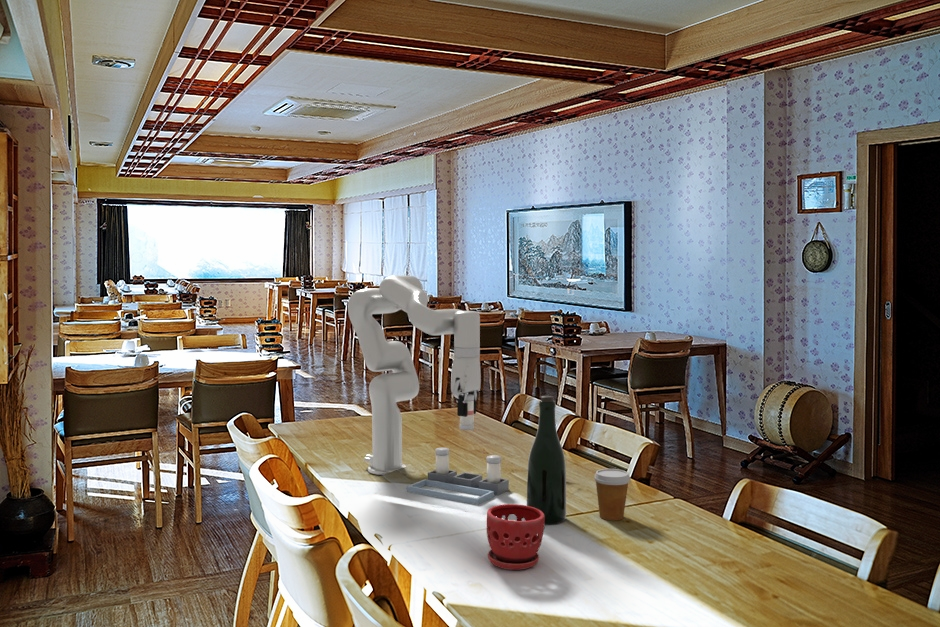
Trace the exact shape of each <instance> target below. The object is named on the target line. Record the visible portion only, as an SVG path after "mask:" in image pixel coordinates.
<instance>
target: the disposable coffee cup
mask: <svg viewBox="0 0 940 627" xmlns="http://www.w3.org/2000/svg"><path fill="white" fill-rule="evenodd" d="M593 478H594V480H595V481H594V482H595V487H596V495H597V496H596V497H597V503H598V504H597V505H598V513H599V517H600V518H601V519H603V520H606V521H620V520H623V519H624V516H625V508H626V502H627V501H626V500H627V495H628V488H629V487H628V486H629V482H630V481H631V477H630V475H629V472H628V471H627V470H626V471H625V470H623V469H619V468H617V469H616V468H603V469H598V470H596V471H595V474H594V477H593Z"/></svg>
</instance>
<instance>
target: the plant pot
mask: <svg viewBox="0 0 940 627" xmlns="http://www.w3.org/2000/svg"><path fill="white" fill-rule="evenodd" d="M510 515H511V516H512V515H514V516H515V517H516V520H510V519H509V517H510ZM503 516H505V517H504V518H502V517H503ZM523 519H524V520H523ZM544 521H545V516H544V513H543V512H542V511H540V510H539V509H537V508H534V507H530V506H527V504H526V505H525V504H515V503H512V504H511V503H508V504H507V503H504V504H497V505H494V506H492V507H489V508H488V510H487V511H486V536H487V542H488V544H489V548H490V550H489V551H488V553H487V558H488V560H489V561H490V563H492V564H493V565H494V566H495V567H498V568H501V569H504V570H509V571H510V570H512V571H517V570H518V571H520V570H524V569H525V570H526V569H529V568H532V567H533V566H535V565H536V564H538V561H539V560H540V556H539V554H538V551H539V549H540V548H541V544H542V542H543V536H544V532H545V531H544V530H545V524H544Z"/></svg>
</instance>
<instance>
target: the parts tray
mask: <svg viewBox="0 0 940 627" xmlns="http://www.w3.org/2000/svg"><path fill="white" fill-rule="evenodd" d="M424 486H428V487H433V488H438V489H443V490H450V491H454V492H461V493H467V494H472V495H478V497H475V496H474V497H473V496H468V495H463V494H457V493H451V492H446V491H440V490H434V489H430V488H424ZM406 492H408V493H413V494H419V495H423V496H428V497H433V498H434V497H435V498H440V499H445V500H451V501H454V502H455V501H456V502H461V503H467V504H473V505H477V506H479V505H480V504H482V503H484V502H486V501H488V500H490V499H492V498H494V497H495V496H494V491H489V490H484V489H478V488H472V487H466V486H461V485H455V484H449V483H444V482H438V481H432V480H428V479H426V478H425V479H422V480H420V481H417V482H414V483H412V484H408V485H407V486H406Z"/></svg>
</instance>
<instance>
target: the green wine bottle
mask: <svg viewBox="0 0 940 627" xmlns="http://www.w3.org/2000/svg"><path fill="white" fill-rule="evenodd" d="M556 406H557V405H556V401H555V398H554V396H553V395H541V397H540V400H539V403H538V425H537V431H536V435H535V438H534V441H533V443H532V446H531V448H530V451H529V453H528V454H529V455H528V459H527V461H528V462H527V479H526V481H527V482H526V485H527V487H526V506H530V507H534V508H537V509H539V510H540V511H542V512H543V513H544V516H545V521H544V525H554V524H555V525H556V524H560V523H562V522H564V521H565V520H566V518H567V470H566V469H567V468H566V465H567V464H566V457H565V453H564V449H563V446H562V444H561V442H560V438H559V436H558V432H557V423H556Z"/></svg>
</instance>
